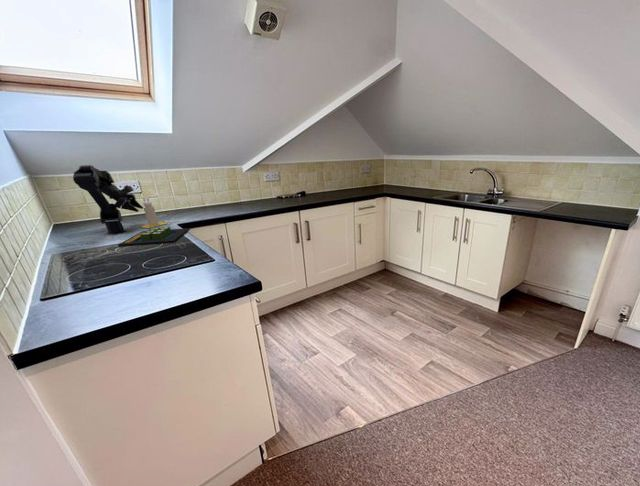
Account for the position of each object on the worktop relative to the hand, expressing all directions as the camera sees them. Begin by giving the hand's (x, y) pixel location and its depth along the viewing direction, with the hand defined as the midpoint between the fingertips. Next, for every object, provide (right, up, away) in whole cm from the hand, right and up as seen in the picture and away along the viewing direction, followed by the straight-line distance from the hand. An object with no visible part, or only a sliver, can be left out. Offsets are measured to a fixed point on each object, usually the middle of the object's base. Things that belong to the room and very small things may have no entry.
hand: (140, 209), depth 179 cm
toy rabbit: (+4, -8, +5) cm, 11 cm away
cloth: (+4, -9, +6) cm, 11 cm away
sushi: (+23, -19, -19) cm, 36 cm away
